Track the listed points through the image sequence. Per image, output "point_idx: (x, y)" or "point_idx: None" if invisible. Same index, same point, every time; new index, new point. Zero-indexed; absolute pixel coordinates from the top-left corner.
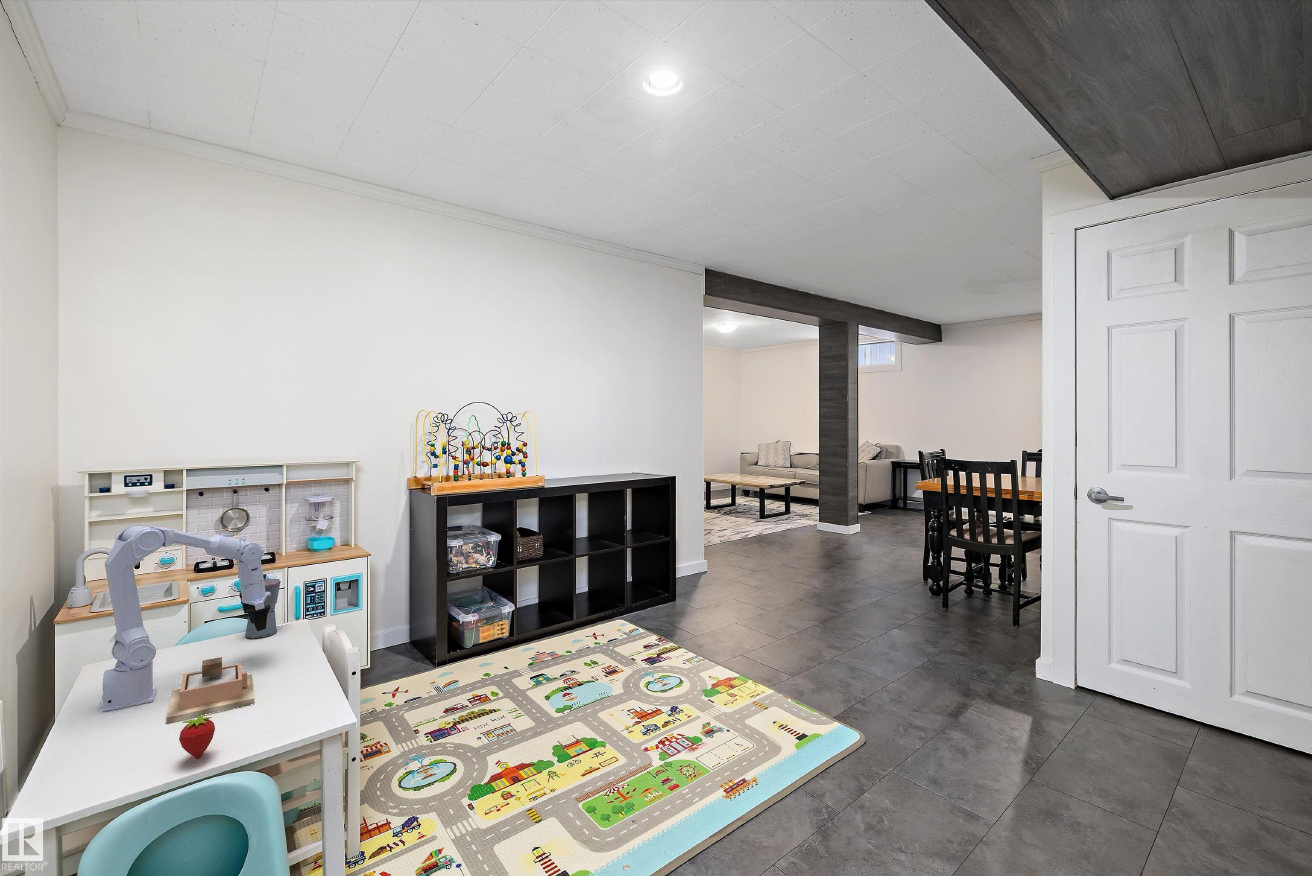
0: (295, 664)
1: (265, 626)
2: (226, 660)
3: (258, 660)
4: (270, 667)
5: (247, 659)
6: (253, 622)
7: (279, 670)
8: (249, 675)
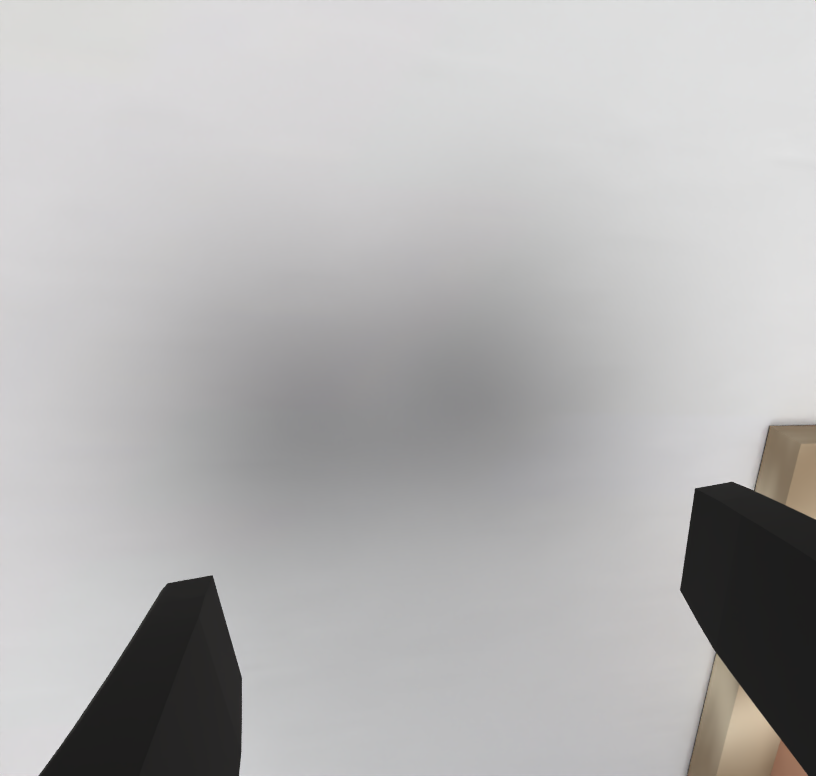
0: (691, 76)
1: (777, 509)
2: None
3: (352, 371)
4: (607, 289)
5: (265, 452)
6: (233, 676)
7: (734, 227)
8: (811, 458)
